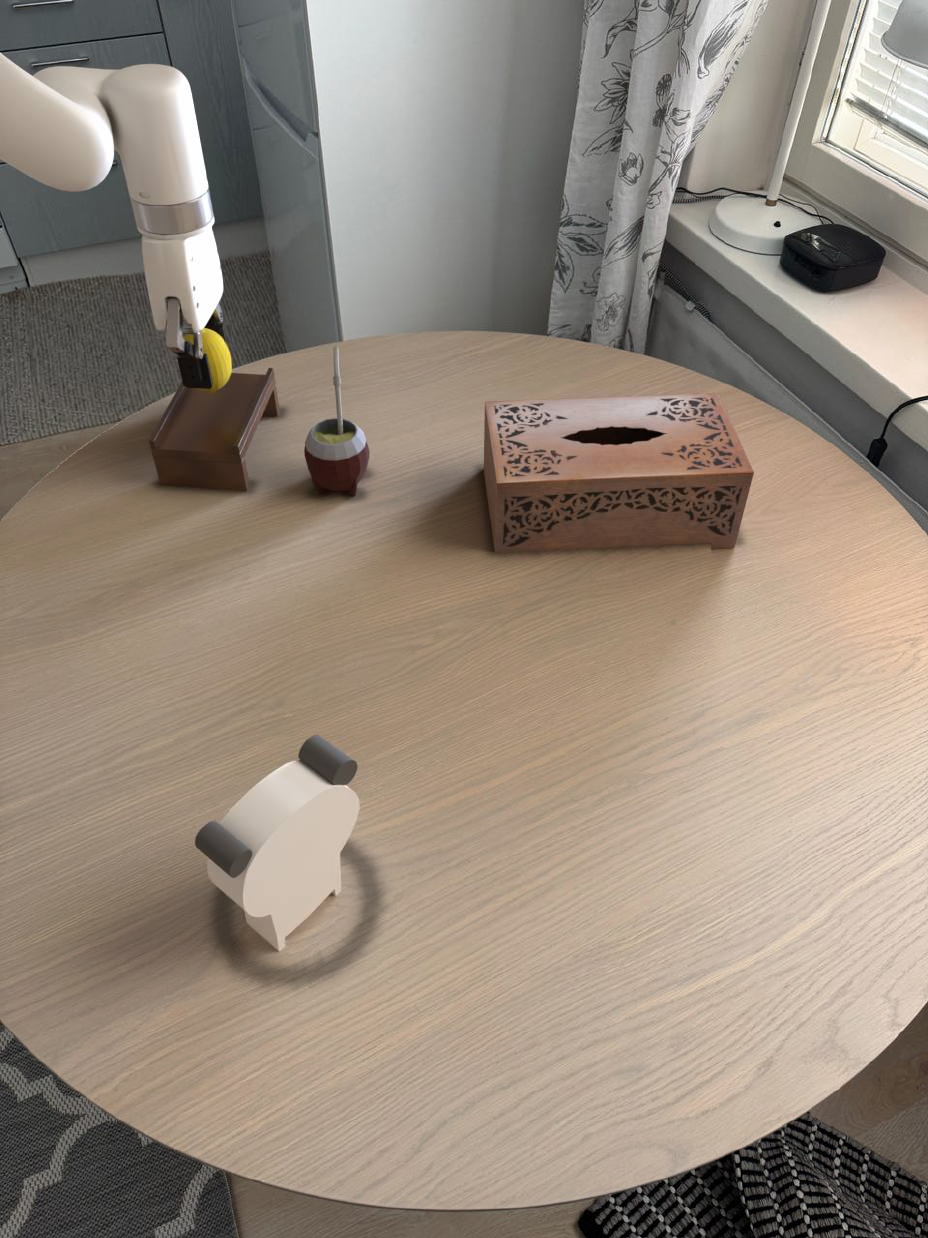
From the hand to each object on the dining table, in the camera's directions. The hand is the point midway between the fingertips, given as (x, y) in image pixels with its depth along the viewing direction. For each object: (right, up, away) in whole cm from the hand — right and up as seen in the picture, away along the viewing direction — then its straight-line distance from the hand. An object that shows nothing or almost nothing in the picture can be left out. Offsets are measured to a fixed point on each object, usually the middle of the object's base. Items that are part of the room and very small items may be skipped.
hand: (206, 369), depth 110 cm
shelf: (0, -8, +8) cm, 11 cm away
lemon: (0, -2, +2) cm, 3 cm away
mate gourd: (+14, -13, +4) cm, 20 cm away
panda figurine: (+16, -50, -33) cm, 62 cm away
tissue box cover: (+44, -16, +1) cm, 47 cm away
